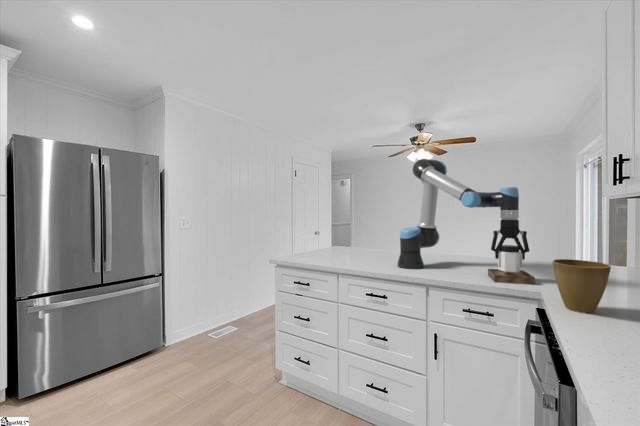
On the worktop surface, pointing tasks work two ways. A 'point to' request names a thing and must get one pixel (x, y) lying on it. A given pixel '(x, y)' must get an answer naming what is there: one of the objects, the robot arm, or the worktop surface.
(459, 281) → the worktop surface
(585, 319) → the worktop surface
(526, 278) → the wooden tray
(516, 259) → the jar
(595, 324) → the worktop surface
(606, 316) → the worktop surface
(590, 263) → the plant pot
